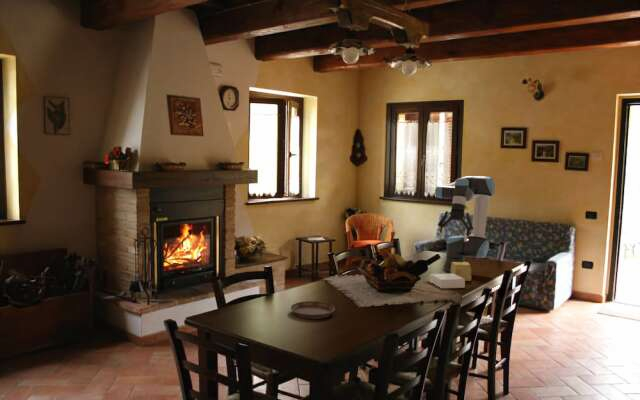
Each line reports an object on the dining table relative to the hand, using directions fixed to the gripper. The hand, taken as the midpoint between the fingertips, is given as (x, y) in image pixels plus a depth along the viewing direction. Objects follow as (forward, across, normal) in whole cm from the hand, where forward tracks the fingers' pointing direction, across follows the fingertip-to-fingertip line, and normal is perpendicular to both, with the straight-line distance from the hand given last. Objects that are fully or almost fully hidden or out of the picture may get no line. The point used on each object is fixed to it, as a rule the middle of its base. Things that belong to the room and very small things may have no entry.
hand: (453, 240), depth 307 cm
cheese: (+18, -2, +34) cm, 38 cm away
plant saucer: (+56, -37, -78) cm, 103 cm away
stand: (+25, -4, +14) cm, 29 cm away
